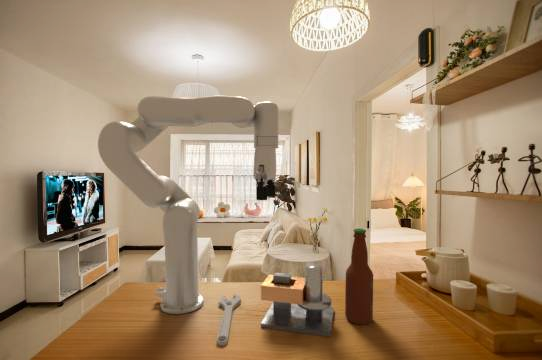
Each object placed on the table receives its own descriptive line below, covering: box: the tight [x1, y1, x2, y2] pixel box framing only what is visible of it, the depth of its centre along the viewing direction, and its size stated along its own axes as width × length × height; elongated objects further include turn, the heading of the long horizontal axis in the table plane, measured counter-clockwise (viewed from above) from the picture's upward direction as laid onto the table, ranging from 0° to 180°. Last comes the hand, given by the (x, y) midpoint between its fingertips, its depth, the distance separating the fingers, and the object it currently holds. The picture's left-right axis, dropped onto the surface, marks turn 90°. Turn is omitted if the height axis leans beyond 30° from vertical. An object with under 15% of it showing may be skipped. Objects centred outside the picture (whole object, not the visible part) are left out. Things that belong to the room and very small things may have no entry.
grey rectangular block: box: [272, 272, 292, 316], centre depth 83 cm, size 4×2×11 cm, turn 74°
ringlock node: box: [260, 263, 335, 338], centre depth 82 cm, size 19×14×15 cm
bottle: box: [344, 228, 374, 326], centre depth 82 cm, size 7×7×25 cm
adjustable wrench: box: [216, 293, 242, 347], centre depth 83 cm, size 25×6×2 cm, turn 178°
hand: (266, 198), depth 93 cm, fingers open, 9 cm apart
